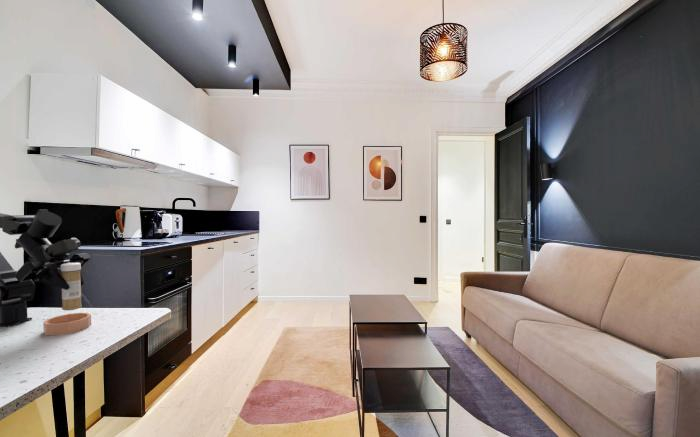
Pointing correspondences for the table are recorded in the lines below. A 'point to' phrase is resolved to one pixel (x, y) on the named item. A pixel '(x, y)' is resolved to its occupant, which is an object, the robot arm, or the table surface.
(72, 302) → the sprinkles bottle
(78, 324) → the terracotta bowl
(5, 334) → the table surface
